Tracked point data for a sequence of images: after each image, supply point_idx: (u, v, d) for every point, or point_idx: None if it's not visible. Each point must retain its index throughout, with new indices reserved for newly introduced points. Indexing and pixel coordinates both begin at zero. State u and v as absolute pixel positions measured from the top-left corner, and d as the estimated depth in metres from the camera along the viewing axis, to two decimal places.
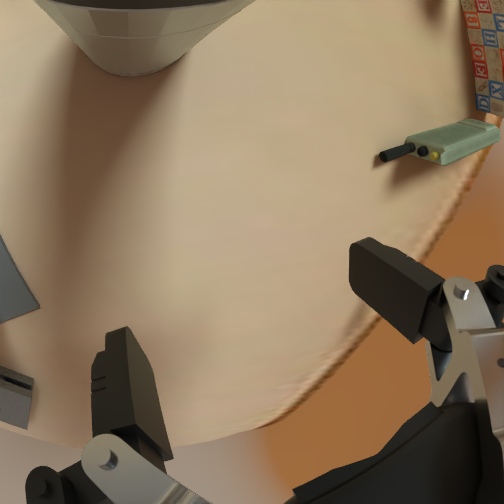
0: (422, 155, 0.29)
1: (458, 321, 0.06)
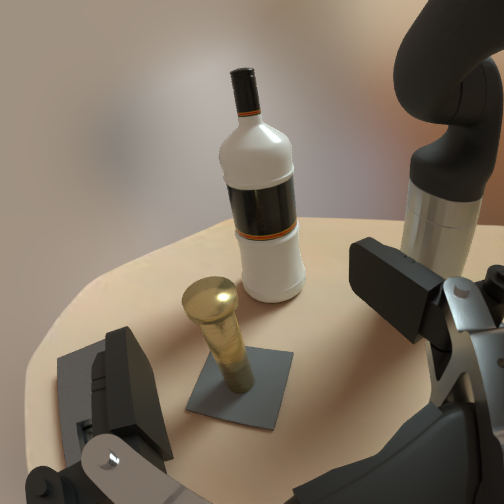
0: None
1: (458, 321, 0.06)
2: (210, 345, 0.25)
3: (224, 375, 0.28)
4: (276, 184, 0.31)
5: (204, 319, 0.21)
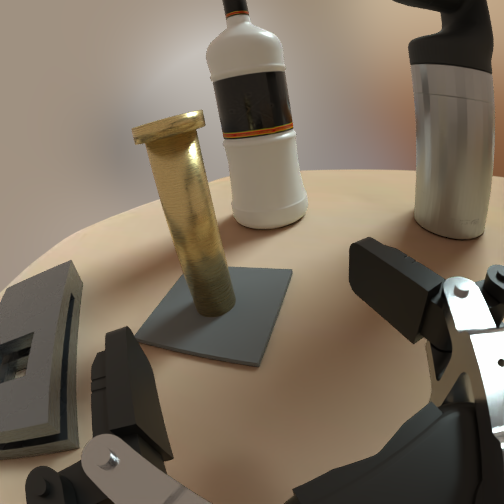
0: None
1: (458, 321, 0.06)
2: (164, 202, 0.17)
3: (187, 274, 0.20)
4: (265, 70, 0.25)
5: (152, 129, 0.14)
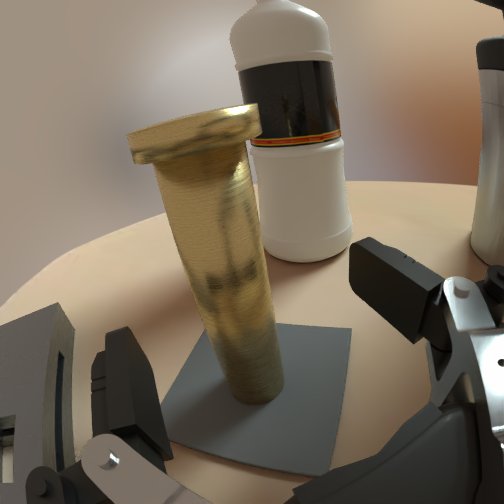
0: None
1: (458, 321, 0.06)
2: (188, 265, 0.10)
3: (223, 361, 0.13)
4: (312, 58, 0.18)
5: (168, 137, 0.07)
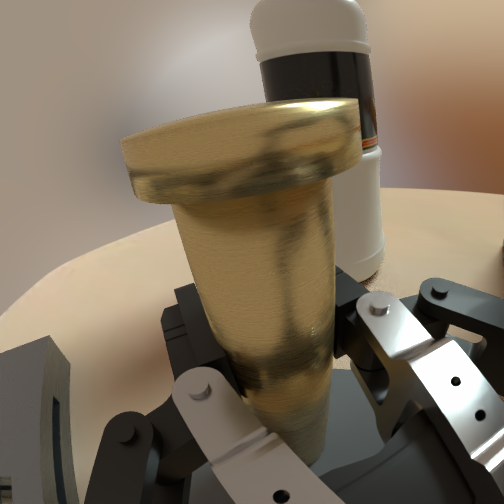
0: None
1: (387, 345, 0.06)
2: (230, 352, 0.06)
3: None
4: (352, 50, 0.14)
5: (212, 152, 0.03)
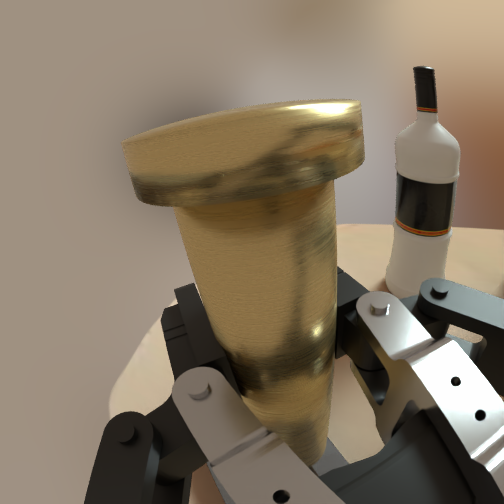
0: None
1: (387, 345, 0.06)
2: (231, 354, 0.06)
3: None
4: (453, 180, 0.26)
5: (215, 155, 0.03)
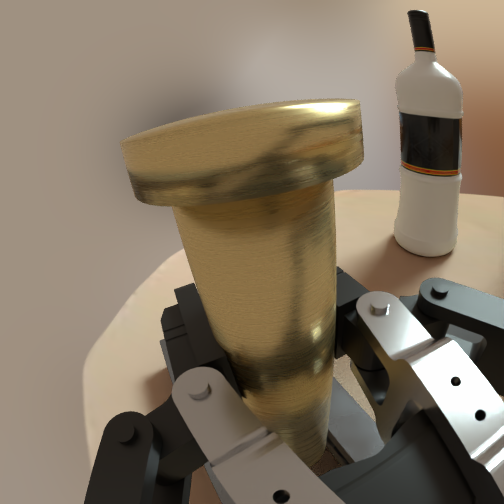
0: None
1: (387, 345, 0.06)
2: (230, 354, 0.06)
3: None
4: (459, 117, 0.23)
5: (213, 155, 0.03)
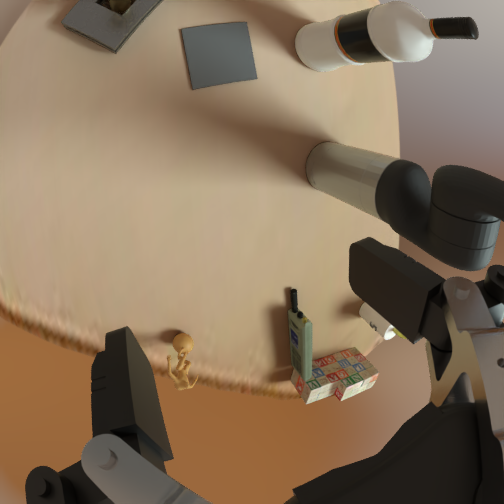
0: (299, 314, 0.59)
1: (458, 321, 0.06)
2: None
3: None
4: (377, 49, 0.26)
5: None
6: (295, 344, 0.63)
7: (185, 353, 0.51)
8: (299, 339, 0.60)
